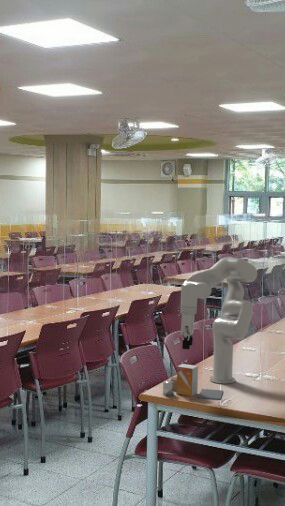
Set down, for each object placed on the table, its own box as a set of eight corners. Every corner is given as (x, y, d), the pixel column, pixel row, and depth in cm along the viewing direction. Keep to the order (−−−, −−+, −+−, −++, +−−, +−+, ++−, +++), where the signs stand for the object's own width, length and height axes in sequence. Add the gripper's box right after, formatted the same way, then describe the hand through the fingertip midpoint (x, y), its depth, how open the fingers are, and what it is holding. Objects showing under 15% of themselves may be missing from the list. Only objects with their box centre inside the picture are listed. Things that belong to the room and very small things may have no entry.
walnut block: (172, 387, 311) (172, 376, 311) (182, 387, 310) (182, 377, 310) (170, 389, 306) (170, 379, 306) (180, 390, 305) (181, 380, 305)
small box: (176, 394, 299) (176, 366, 298) (181, 390, 305) (182, 363, 304) (192, 396, 295) (192, 368, 294) (197, 393, 301) (198, 365, 300)
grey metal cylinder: (163, 392, 301) (164, 380, 300) (174, 393, 300) (174, 380, 299) (162, 395, 296) (162, 382, 295) (172, 396, 295) (173, 383, 294)
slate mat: (201, 390, 307) (201, 388, 307) (223, 391, 305) (223, 390, 304) (198, 398, 293) (198, 396, 293) (220, 399, 291) (220, 398, 291)
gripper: (183, 307, 307) (182, 343, 308) (177, 312, 290) (176, 350, 291) (199, 308, 305) (197, 344, 306) (194, 313, 288) (193, 351, 289)
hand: (187, 347), depth 298 cm, fingers open, 9 cm apart
